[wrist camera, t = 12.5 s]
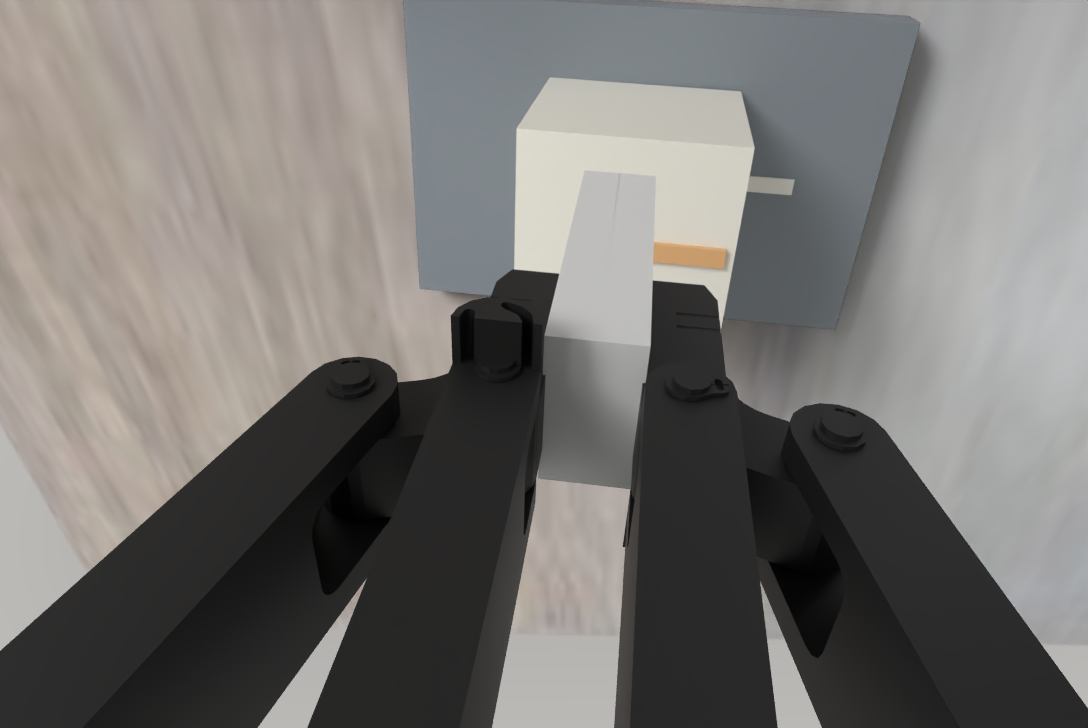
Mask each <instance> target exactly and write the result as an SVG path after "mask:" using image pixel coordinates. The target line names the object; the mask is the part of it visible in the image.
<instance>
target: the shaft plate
mask: <svg viewBox="0 0 1088 728" xmlns="http://www.w3.org/2000/svg"><path fill="white" fill-rule="evenodd" d="M403 4H404V21H405V39H406V57H407V74H408V92H409V109H410V127H411V145H412V162H413V180H414V197H415V215H416V233H417V250H418V268H419V286H420V289H426V290H436V291H447V292H457V293H467V294H477V295H487V296H491V294H492V292H493V289H494V286H495V284H496V281H498V280H499V279H500V278H502V277H503V276H504V275H506V274H507V273H508V272H509V271H511V270H512V269H514V247H515V188H516V130H517V127H518V125H519V124H520V122H521V121H522V119H523V118H524V116H525V115H526V113H527V112H528V110H529V109H530V107H531V105H532V104H533V102H534V101H535V99H536V98H537V96H538V95H539V93H540V92H541V90H542V89H543V87H544V86H545V84H546V82H547V81H548V79H549V78H550V77H553V78H567V79H580V80H594V81H607V82H621V83H634V84H648V85H661V86H675V87H688V88H702V89H715V90H729V91H741V93H742V97H743V101H744V106H745V110H746V114H747V118H748V122H749V126H750V130H751V134H752V139H753V143H754V147H755V149H754V155H753V160H752V165H751V171H750V176H749V182H748V187H747V192H746V198H745V203H744V209H743V214H742V219H741V225H740V230H739V236H738V241H737V246H736V252H735V257H734V263H733V268H732V273H731V279H730V284H729V289H728V295H727V300H726V306H725V311H724V316H723V319H731V320H741V321H752V322H762V323H772V324H782V325H792V326H802V327H813V328H823V329H833V330H835V329H836V326H837V322H838V319H839V315H840V311H841V308H842V304H843V301H844V297H845V293H846V290H847V286H848V283H849V279H850V275H851V272H852V268H853V265H854V261H855V257H856V254H857V250H858V247H859V243H860V239H861V236H862V232H863V229H864V225H865V221H866V218H867V214H868V211H869V207H870V203H871V200H872V196H873V193H874V189H875V185H876V182H877V178H878V175H879V171H880V167H881V164H882V160H883V157H884V153H885V149H886V146H887V142H888V139H889V135H890V131H891V128H892V124H893V121H894V117H895V113H896V110H897V106H898V103H899V99H900V95H901V92H902V88H903V85H904V81H905V77H906V74H907V70H908V67H909V63H910V59H911V56H912V52H913V49H914V45H915V42H916V38H917V34H918V31H919V27H920V24H921V23H919V22H917V21H916V20H914V19H913V18H911V17H910V16H896V15H879V14H862V13H846V12H829V11H812V10H795V9H779V8H762V7H745V6H729V5H712V4H695V3H679V2H662V1H645V0H403Z"/></svg>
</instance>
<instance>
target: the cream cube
mask: <svg viewBox="0 0 1088 728" xmlns="http://www.w3.org/2000/svg"><path fill="white" fill-rule="evenodd" d="M754 149H755V147H754V143H753V139H752V134H751V130H750V126H749V122H748V118H747V114H746V110H745V106H744V101H743V97H742V93H741V91H729V90H715V89H702V88H688V87H675V86H661V85H648V84H634V83H621V82H607V81H594V80H580V79H567V78H553V77H550V78H549V79H548V81H547V82H546V84H545V86H544V87H543V89H542V90H541V92H540V93H539V95H538V96H537V98H536V99H535V101H534V102H533V104H532V105H531V107H530V109H529V110H528V112H527V113H526V115H525V116H524V118H523V119H522V121H521V122H520V124H519V125H518V127H517V130H516V188H515V247H514V269H515V270H526V271H537V272H547V273H558V274H559V273H560V269H561V265H562V261H563V257H564V253H565V249H566V245H567V241H568V236H569V232H570V228H571V224H572V220H573V216H574V212H575V208H576V204H577V199H578V195H579V191H580V187H581V183H582V179H583V175H584V171H585V170H587V171H600V172H612V173H624V174H636V175H648V176H656V192H655V224H654V255H653V280H654V281H665V282H675V283H686V284H697V285H705V286H706V288H707V289H708V290H709V291H710V292H711V293H712V295H713V296H714V297H715V298H716V299H717V300H718V309H719V320H720V327H722V322H723V316H724V311H725V306H726V300H727V295H728V289H729V284H730V279H731V273H732V268H733V263H734V257H735V252H736V246H737V241H738V236H739V230H740V225H741V219H742V214H743V209H744V203H745V198H746V192H747V187H748V182H749V176H750V171H751V165H752V160H753V155H754ZM720 333H721V331H720Z"/></svg>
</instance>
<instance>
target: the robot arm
mask: <svg viewBox="0 0 1088 728" xmlns="http://www.w3.org/2000/svg"><path fill="white" fill-rule="evenodd" d="M655 192H656V176H648V175H636V174H624V173H612V172H600V171H587V170H585V171H584V175H583V179H582V183H581V187H580V191H579V195H578V199H577V204H576V208H575V212H574V216H573V220H572V224H571V228H570V232H569V236H568V241H567V245H566V249H565V253H564V257H563V261H562V265H561V269H560V273H559V274H558V273H547V272H537V271H526V270H515V269H512V270H511V271H509V272H508V273H507V274H506V275H504V276H503V277H502V278H500V279H499V280H498V281H496V284H495V286H494V289H493V292H492V294H491V297H487V298H482V299H477V300H473V301H470V302H468V303H466V304H464V305H462V306H460V307H458V308H457V309H456V310H455V311H454V313H453V314H452V315H451V333H452V360H453V364H452V366H451V369H450V371H449V373H448V374H445V375H442V376H439V377H436V378H431V379H426V380H419V381H409V382H398V380H397V373H396V372H395V371H394V370H393V369H392V368H391V366H390V365H388V364H386V363H384V362H381V361H379V360H377V359H372V358H364V357H352V358H341V359H338V360H335V361H332V362H329V363H326V364H324V365H322V366H321V367H319V368H318V369H316V370H314V371H313V372H311V373H310V374H309V375H308V376H307V377H306V378H305V379H304V380H302V381H301V382H300V383H299V384H298V385H297V386H296V387H295V388H294V389H292V390H291V391H290V392H289V393H288V394H287V395H286V396H285V397H283V398H282V399H281V400H280V401H279V402H278V403H277V404H276V405H275V406H273V407H272V408H271V409H270V410H269V411H268V412H267V413H266V414H265V415H263V416H262V417H261V418H260V419H259V420H258V421H257V422H256V423H254V424H253V425H252V426H251V427H250V428H249V429H248V430H247V431H246V432H244V433H243V434H242V435H241V436H240V437H239V438H238V439H237V440H235V441H234V442H233V443H232V444H231V445H230V446H229V447H228V448H227V449H225V450H224V451H223V452H222V453H221V454H220V455H219V456H218V457H216V458H215V459H214V460H213V461H212V462H211V463H210V464H209V465H208V466H206V467H205V468H204V469H203V470H202V471H201V472H200V473H199V474H197V475H196V476H195V477H194V478H193V479H192V480H191V481H190V482H189V483H187V484H186V485H185V486H184V487H183V488H182V489H181V490H180V491H178V492H177V493H176V494H175V495H174V496H173V497H172V498H171V499H170V500H168V501H167V502H166V503H165V504H164V505H163V506H162V507H161V508H159V509H158V510H157V511H156V512H155V513H154V514H153V515H152V516H151V517H149V518H148V519H147V520H146V521H145V522H144V523H143V524H142V525H140V526H139V527H138V528H137V529H136V530H135V531H134V532H133V533H132V534H130V535H129V536H128V537H127V538H126V539H125V540H124V541H123V542H121V543H120V544H119V545H118V546H117V547H116V548H115V549H114V550H113V551H111V552H110V553H109V554H108V555H107V556H106V557H105V558H104V559H102V560H101V561H100V562H99V563H98V564H97V565H96V566H95V567H94V568H92V569H91V570H90V571H89V572H88V573H87V574H86V575H85V576H83V577H82V578H81V579H80V580H79V581H78V582H77V583H76V584H75V585H73V586H72V587H71V588H70V589H69V590H68V591H67V592H66V593H64V594H63V595H62V596H61V597H60V598H59V599H58V600H57V601H56V602H54V603H53V604H52V605H51V606H50V607H49V608H48V609H47V610H46V611H44V612H43V613H42V614H41V615H40V616H39V617H38V618H37V619H35V620H34V621H33V622H32V623H31V624H30V625H29V626H28V627H26V628H25V630H23V631H22V632H21V633H20V634H19V635H18V636H16V637H15V638H14V639H13V640H12V641H11V642H10V643H9V644H8V645H6V646H5V647H4V648H3V649H2V650H1V651H0V728H258V726H259V725H260V723H261V722H262V721H263V719H264V718H265V716H266V715H267V714H268V712H269V711H270V710H271V708H272V707H273V706H274V704H275V703H276V702H277V700H278V699H279V697H280V696H281V695H282V693H283V692H284V691H285V689H286V688H287V686H288V685H289V684H290V682H291V681H292V679H293V678H294V677H295V676H296V674H297V673H298V671H299V670H300V669H301V667H302V666H303V664H304V663H305V662H306V660H307V659H308V658H309V656H310V655H311V654H312V652H313V651H314V649H315V648H316V647H317V645H318V644H319V643H320V641H321V640H322V638H323V637H324V636H325V634H326V633H327V632H328V630H329V629H330V628H331V626H332V625H333V623H334V622H335V621H336V619H337V618H338V617H339V615H340V614H341V612H342V611H343V610H344V608H345V607H346V606H347V604H348V603H349V602H350V600H351V599H352V597H353V596H354V595H355V593H356V592H357V591H358V589H359V588H360V586H361V585H362V584H363V582H364V581H365V580H366V578H367V580H366V582H365V585H364V587H363V590H362V592H361V595H360V597H359V600H358V602H357V605H356V607H355V610H354V612H353V615H352V617H351V620H350V622H349V625H348V627H347V630H346V632H345V635H344V637H343V640H342V642H341V645H340V648H339V650H338V652H337V655H336V658H335V660H334V662H333V665H332V667H331V670H330V673H329V675H328V678H327V680H326V682H325V685H324V688H323V690H322V693H321V695H320V698H319V700H318V703H317V705H316V708H315V710H314V713H313V715H312V718H311V720H310V723H309V725H308V728H492V724H493V718H494V713H495V708H496V703H497V698H498V693H499V687H500V682H501V677H502V672H503V667H504V661H505V656H506V651H507V646H508V641H509V635H510V630H511V625H512V620H513V615H514V610H515V604H516V599H517V594H518V589H519V584H520V578H521V573H522V568H523V563H524V558H525V552H526V547H527V542H528V537H529V532H530V526H531V521H532V516H533V511H534V506H535V496H536V477H537V472H538V478H540V479H548V480H557V481H565V482H574V483H582V484H591V485H599V486H608V487H617V488H625V489H631V491H630V498H629V505H628V513H627V520H626V527H625V535H624V542H623V547H625V562H624V578H623V594H622V610H621V627H620V643H619V659H618V675H617V693H616V708H615V724H614V728H777V720H776V711H775V702H774V694H773V686H772V678H771V670H770V661H769V653H768V644H767V636H766V628H765V620H764V611H763V603H762V595H761V586H760V581H761V583H762V586H763V588H764V590H765V593H766V595H767V598H768V600H769V602H770V605H771V607H772V610H773V612H774V614H775V617H776V619H777V621H778V624H779V626H780V629H781V631H782V633H783V636H784V638H785V641H786V643H787V645H788V648H789V650H790V652H791V655H792V657H793V660H794V662H795V664H796V666H797V669H798V671H799V674H800V676H801V679H802V681H803V683H804V685H805V688H806V691H807V693H808V695H809V698H810V700H811V702H812V705H813V707H814V710H815V712H816V714H817V717H818V719H819V721H820V724H821V726H822V728H1088V708H1087V707H1086V705H1085V704H1084V703H1083V701H1082V700H1081V698H1080V697H1079V696H1078V694H1077V693H1076V692H1075V690H1074V689H1073V687H1072V686H1071V685H1070V683H1069V682H1068V681H1067V679H1066V678H1065V676H1064V675H1063V674H1062V672H1061V671H1060V670H1059V668H1058V667H1057V665H1056V664H1055V663H1054V661H1053V660H1052V659H1051V657H1050V656H1049V655H1048V653H1047V652H1046V650H1045V649H1044V648H1043V646H1042V645H1041V643H1040V642H1039V641H1038V639H1037V638H1036V637H1035V635H1034V634H1033V633H1032V631H1031V630H1030V628H1029V627H1028V626H1027V624H1026V623H1025V622H1024V620H1023V619H1022V617H1021V616H1020V615H1019V613H1018V612H1017V611H1016V609H1015V608H1014V606H1013V605H1012V604H1011V602H1010V601H1009V600H1008V598H1007V597H1006V595H1005V594H1004V593H1003V591H1002V590H1001V589H1000V587H999V586H998V584H997V583H996V582H995V580H994V579H993V578H992V576H991V575H990V574H989V572H988V571H987V569H986V568H985V567H984V565H983V564H982V563H981V561H980V560H979V558H978V557H977V556H976V554H975V553H974V552H973V550H972V549H971V547H970V546H969V545H968V543H967V542H966V541H965V539H964V538H963V536H962V535H961V534H960V532H959V531H958V530H957V528H956V527H955V525H954V524H953V523H952V521H951V520H950V519H949V517H948V516H947V515H946V513H945V512H944V510H943V509H942V508H941V506H940V505H939V504H938V502H937V501H936V499H935V498H934V497H933V495H932V494H931V493H930V491H929V490H928V488H927V487H926V486H925V484H924V483H923V482H922V480H921V479H920V477H919V476H918V475H917V473H916V472H915V471H914V469H913V468H912V466H911V465H910V464H909V462H908V461H907V460H906V458H905V457H904V456H903V454H902V453H901V451H900V450H899V449H898V447H897V446H896V445H895V443H894V442H893V440H892V439H891V438H890V436H889V435H888V434H887V432H886V431H885V430H884V429H883V428H882V427H881V426H880V425H879V424H878V423H877V422H876V421H875V420H873V419H872V418H870V417H868V416H866V415H864V414H863V413H861V412H859V411H857V410H854V409H851V408H847V407H844V406H840V405H833V404H821V403H820V404H814V405H809V406H804V407H802V408H801V409H799V410H798V411H796V412H795V413H793V416H792V418H791V420H790V422H788V421H785V420H782V419H779V418H776V417H773V416H769V415H767V414H764V413H762V412H759V411H757V410H754V409H753V408H751V407H749V406H747V405H746V404H744V403H743V402H742V401H740V400H739V399H738V396H737V391H736V389H735V387H734V384H733V382H732V381H731V380H729V379H728V378H727V377H726V373H725V364H724V355H723V346H722V336H721V333H720V331H721V327H720V320H719V309H718V300H717V299H716V298H715V297H714V296H713V295H712V293H711V292H710V291H709V290H708V289H707V288H706V286H705V285H697V284H686V283H675V282H665V281H654V280H653V255H654V224H655ZM538 467H539V470H538Z"/></svg>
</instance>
